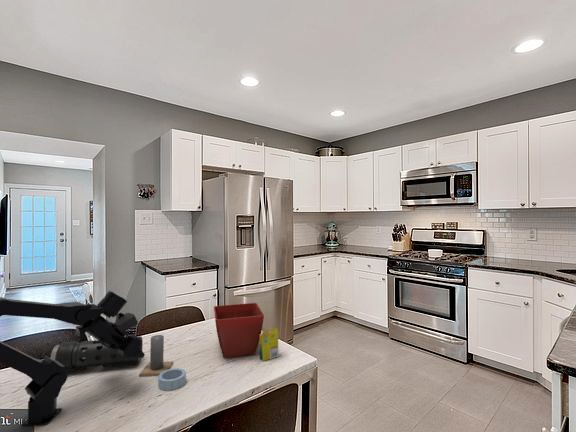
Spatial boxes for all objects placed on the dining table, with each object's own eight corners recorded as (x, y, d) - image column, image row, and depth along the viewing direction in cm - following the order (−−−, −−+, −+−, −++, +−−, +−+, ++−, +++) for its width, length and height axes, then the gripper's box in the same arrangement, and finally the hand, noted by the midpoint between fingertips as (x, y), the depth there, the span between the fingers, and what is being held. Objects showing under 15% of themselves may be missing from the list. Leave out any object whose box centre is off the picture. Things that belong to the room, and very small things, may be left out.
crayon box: (275, 354, 124) (275, 325, 124) (278, 357, 122) (278, 327, 122) (258, 358, 120) (259, 329, 120) (262, 361, 118) (262, 331, 118)
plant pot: (215, 363, 116) (215, 319, 116) (213, 343, 134) (213, 305, 135) (264, 357, 121) (264, 315, 121) (256, 339, 140) (256, 302, 140)
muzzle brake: (137, 369, 112) (137, 341, 112) (48, 379, 104) (48, 349, 105) (142, 357, 121) (142, 331, 121) (61, 366, 114) (61, 338, 114)
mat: (165, 375, 107) (165, 373, 107) (139, 376, 106) (139, 374, 106) (173, 363, 116) (173, 361, 116) (148, 364, 115) (148, 362, 115)
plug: (163, 368, 110) (164, 338, 110) (150, 371, 108) (151, 340, 108) (162, 363, 114) (163, 334, 114) (149, 366, 112) (150, 336, 112)
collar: (181, 389, 98) (181, 380, 98) (154, 391, 97) (154, 381, 97) (188, 376, 106) (188, 367, 106) (163, 377, 106) (163, 368, 106)
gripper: (135, 312, 96) (167, 337, 104) (108, 303, 107) (139, 326, 115) (108, 346, 89) (144, 369, 98) (82, 332, 100) (117, 354, 109)
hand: (136, 352), depth 105 cm, fingers open, 9 cm apart
